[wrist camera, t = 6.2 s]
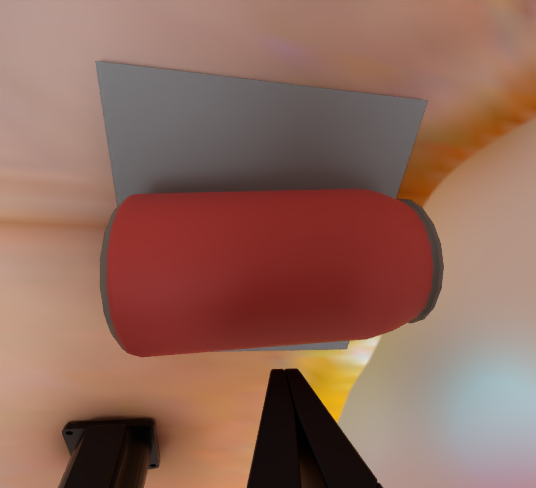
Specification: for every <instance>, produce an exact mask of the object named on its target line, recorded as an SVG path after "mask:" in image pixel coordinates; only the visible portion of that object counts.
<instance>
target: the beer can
mask: <svg viewBox="0 0 536 488" xmlns="http://www.w3.org/2000/svg"><path fill="white" fill-rule="evenodd" d="M443 269H444V265H443V257H442V249H441V243H440V240H439V237H438V235H437V232H436V229H435V226H434V224H433V222H432V221H431V219H430V218H429V217H428V215H427V214H426V212H425V211H424V209H423V208H422V207H421V206H419V205H418V204H416V203H415V202H413V201H412V200H407V199H395V198H392V197H390V196H387V195H385V194H382V193H380V192H375V191H370V190H366V189H320V190H278V191H236V192H193V193H151V194H133V195H131V196H128V197H127V198H126V199H125V200H124V201H122V203H121V204H120V205H119V206H118V207H117V208H116V209H115V211H114V212H113V214H112V215H111V218H110V220H109V223H108V226H107V228H106V231H105V233H104V239H103V245H102V251H101V257H100V290H101V297H102V304H103V311H104V315H105V318H106V321H107V324H108V326H109V329H110V332H111V334H112V335H113V337H114V338H115V340H116V341H117V342H118V344H119V345H120V346H121V348H122V349H123V350H124V351H126V352H127V353H129V354H132V355H135V356H139V357H150V356H162V355H175V354H187V353H200V352H212V351H225V350H237V349H250V348H263V347H275V346H288V345H300V344H313V343H325V342H338V341H350V340H363V339H369V338H372V337H375V336H378V335H381V334H384V333H387V332H390V331H393V330H395V329H397V328H398V327H400V326H402V325H404V324H406V323H414V322H417V321H420V320H423V319H425V317H426V316H427V315H428V314H429V313H430V312H431V311H432V310H433V308H434V307H435V304H436V302H437V299H438V296H439V294H440V291H441V288H442V278H443Z"/></svg>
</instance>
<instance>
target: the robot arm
mask: <svg viewBox="0 0 536 488" xmlns="http://www.w3.org/2000/svg"><path fill="white" fill-rule="evenodd" d="M62 435H63V437H64V440H65V442H66V445H67V447H68V449H69V452H70V454H71V458H70V460H69V463H68V465H67V467H66V470H65V472H64V474H63V477H62V479H61V482H60V484H59V486H58V488H144V485H145V480H146V475H147V470H148V469H154V468H158V467H159V463H160V456H159V448H158V441H157V434H156V427H155V422H154V421H152V420H134V421H114V422H95V423H75V424H67V425H65V427H64V429H63V431H62ZM247 488H383V487H382V486H381V484H380V483H377V479H376V477H375V476H374V475H373V473H372V472H371V470H370V469H369V467H368V466H367V465H366V463H365V462H364V461H363V459H362V458H361V457H360V455H359V454H358V452H357V451H356V449H355V448H354V447H353V445H352V444H351V442H350V441H349V440H348V438H347V437H346V435H345V434H344V433H343V431H342V430H341V428H340V427H339V426H338V424H337V423H336V421H335V420H334V419H333V417H332V416H331V414H330V413H329V412H328V410H327V409H326V407H325V406H324V405H323V403H322V402H321V400H320V399H319V398H318V396H317V395H316V393H315V392H314V391H313V389H312V388H311V386H310V385H309V384H308V382H307V381H306V379H305V378H304V377H303V375H302V374H301V372H300V371H299V370H298V369H285V370H283V369H272V370H271V372H270V377H269V382H268V387H267V392H266V397H265V401H264V406H263V411H262V416H261V421H260V426H259V431H258V435H257V440H256V445H255V450H254V455H253V460H252V464H251V469H250V474H249V479H248V484H247Z"/></svg>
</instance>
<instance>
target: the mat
mask: <svg viewBox="0 0 536 488" xmlns="http://www.w3.org/2000/svg"><path fill="white" fill-rule="evenodd" d="M95 62H96V68H97V75H98V81H99V88H100V95H101V101H102V108H103V115H104V121H105V128H106V134H107V141H108V148H109V154H110V161H111V167H112V174H113V181H114V187H115V194H116V201H117V207H118V206H119V205H120V204H121V203H122V201H124V200H125V199H126V198H127V197H128V196H131V195H133V194H151V193H193V192H236V191H278V190H320V189H366V190H370V191H375V192H380V193H382V194H385V195H387V196H390V197H392V198H395V199H396V197H397V194H398V191H399V188H400V185H401V181H402V178H403V175H404V172H405V169H406V166H407V163H408V160H409V157H410V154H411V151H412V148H413V145H414V142H415V139H416V136H417V132H418V129H419V126H420V123H421V120H422V117H423V114H424V111H425V108H426V105H427V102H428V100H420V99H412V98H404V97H395V96H387V95H378V94H370V93H361V92H353V91H345V90H336V89H328V88H319V87H311V86H302V85H294V84H286V83H277V82H269V81H260V80H252V79H243V78H235V77H227V76H218V75H210V74H201V73H193V72H184V71H176V70H168V69H159V68H151V67H142V66H134V65H125V64H117V63H109V62H100V61H95ZM348 344H349V341H338V342H325V343H313V344H300V345H288V346H275V347H263V348H250V349H237V350H225V351H275V350H329V349H347V347H348ZM212 352H222V351H212Z"/></svg>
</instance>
